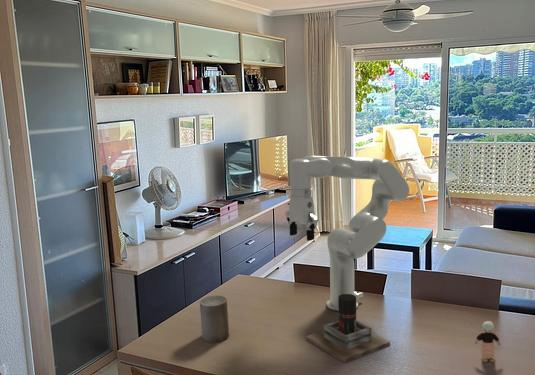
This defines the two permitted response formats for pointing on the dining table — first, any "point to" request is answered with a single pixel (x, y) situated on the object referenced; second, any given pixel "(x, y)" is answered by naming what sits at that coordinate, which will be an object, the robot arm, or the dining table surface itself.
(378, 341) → the collar stand
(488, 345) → the grandmother figurine
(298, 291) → the dining table surface
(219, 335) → the pillar candle
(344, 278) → the robot arm
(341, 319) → the deodorant
